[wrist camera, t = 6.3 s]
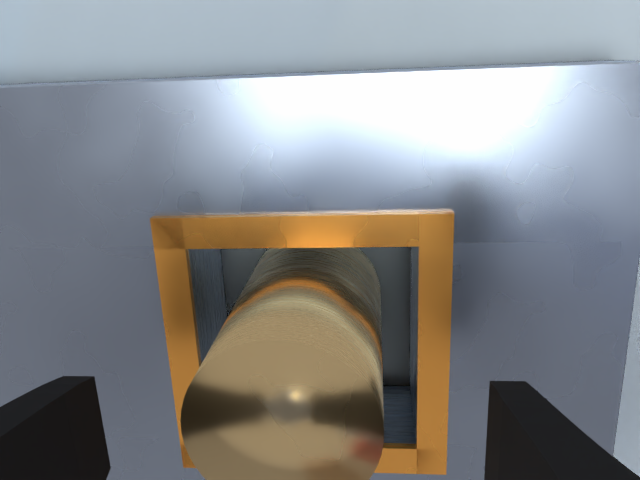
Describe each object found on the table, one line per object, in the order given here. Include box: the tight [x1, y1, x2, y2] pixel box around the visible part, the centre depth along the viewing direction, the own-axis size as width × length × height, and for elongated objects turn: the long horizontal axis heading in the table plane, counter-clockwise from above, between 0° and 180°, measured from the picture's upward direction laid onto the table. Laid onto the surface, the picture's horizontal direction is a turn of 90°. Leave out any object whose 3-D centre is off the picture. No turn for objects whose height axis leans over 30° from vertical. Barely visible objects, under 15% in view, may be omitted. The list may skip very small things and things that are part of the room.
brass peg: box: [181, 247, 384, 480], centre depth 13 cm, size 4×4×6 cm
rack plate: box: [0, 60, 640, 480], centre depth 15 cm, size 12×19×3 cm, turn 92°
